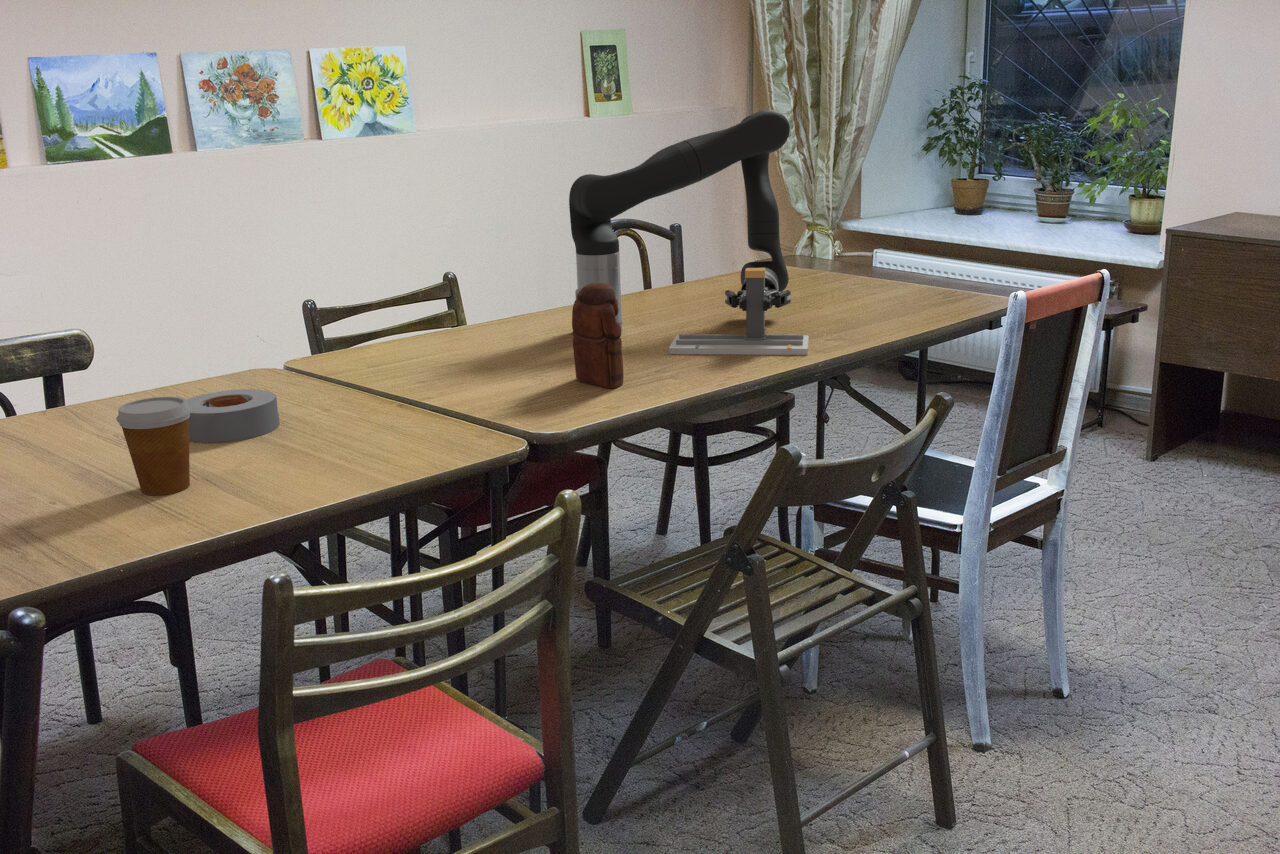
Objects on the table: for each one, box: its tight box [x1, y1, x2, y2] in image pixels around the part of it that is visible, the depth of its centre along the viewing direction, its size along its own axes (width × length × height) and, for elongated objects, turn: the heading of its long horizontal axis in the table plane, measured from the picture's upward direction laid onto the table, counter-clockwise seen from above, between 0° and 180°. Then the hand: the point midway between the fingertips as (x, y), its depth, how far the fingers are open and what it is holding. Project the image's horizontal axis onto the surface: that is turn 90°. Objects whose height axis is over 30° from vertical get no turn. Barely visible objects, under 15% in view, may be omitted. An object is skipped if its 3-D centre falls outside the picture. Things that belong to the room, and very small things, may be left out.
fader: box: [745, 268, 767, 340], centre depth 230 cm, size 4×4×14 cm
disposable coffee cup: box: [116, 396, 191, 496], centre depth 160 cm, size 10×10×12 cm
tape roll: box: [185, 388, 281, 444], centre depth 188 cm, size 15×15×5 cm
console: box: [668, 333, 810, 356], centre depth 233 cm, size 27×13×2 cm, turn 81°
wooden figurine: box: [571, 283, 625, 389], centre depth 208 cm, size 12×6×18 cm, turn 43°
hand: (754, 305), depth 227 cm, fingers closed on fader, 3 cm apart
